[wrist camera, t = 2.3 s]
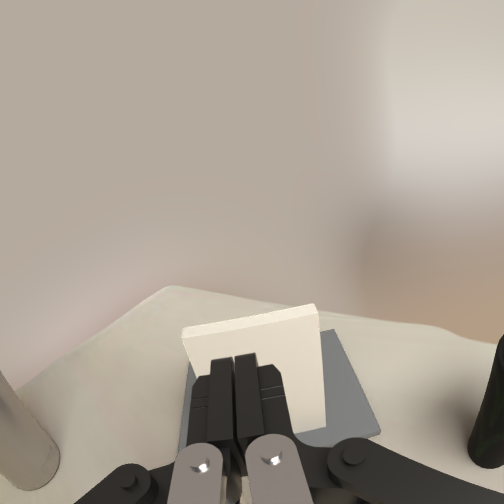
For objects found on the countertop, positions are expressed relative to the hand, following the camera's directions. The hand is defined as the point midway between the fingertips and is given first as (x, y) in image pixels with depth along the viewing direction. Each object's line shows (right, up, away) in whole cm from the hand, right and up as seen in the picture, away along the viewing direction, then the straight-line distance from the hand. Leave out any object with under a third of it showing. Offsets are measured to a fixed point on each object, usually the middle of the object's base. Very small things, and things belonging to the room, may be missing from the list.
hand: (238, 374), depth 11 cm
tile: (+3, -13, +17) cm, 22 cm away
